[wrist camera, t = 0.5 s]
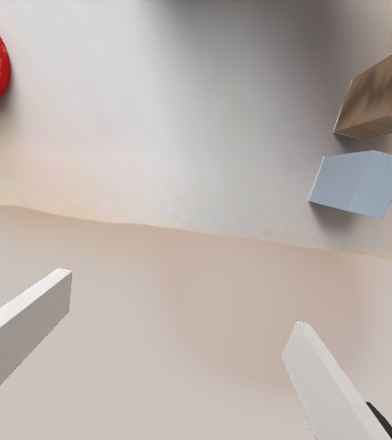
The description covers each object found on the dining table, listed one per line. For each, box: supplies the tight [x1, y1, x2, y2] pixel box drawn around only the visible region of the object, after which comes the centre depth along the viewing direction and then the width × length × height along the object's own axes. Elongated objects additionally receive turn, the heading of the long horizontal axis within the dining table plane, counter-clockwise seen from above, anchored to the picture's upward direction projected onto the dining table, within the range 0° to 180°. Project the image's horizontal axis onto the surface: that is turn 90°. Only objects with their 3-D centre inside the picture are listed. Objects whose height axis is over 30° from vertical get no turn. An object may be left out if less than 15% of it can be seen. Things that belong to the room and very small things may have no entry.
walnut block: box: [333, 55, 392, 139], centre depth 27 cm, size 8×5×10 cm, turn 168°
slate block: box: [308, 150, 392, 219], centre depth 30 cm, size 8×5×10 cm, turn 168°
